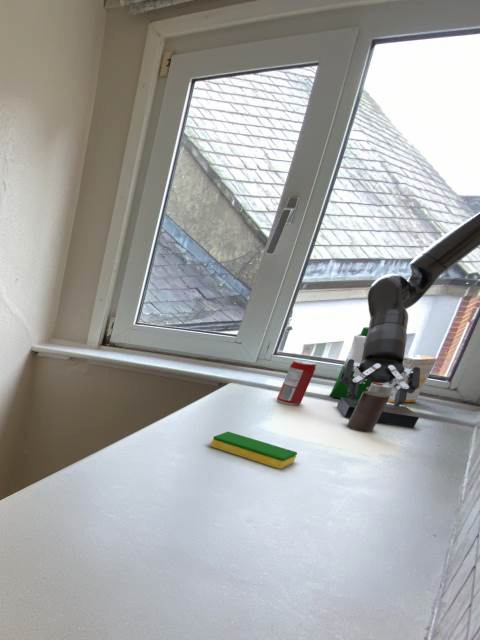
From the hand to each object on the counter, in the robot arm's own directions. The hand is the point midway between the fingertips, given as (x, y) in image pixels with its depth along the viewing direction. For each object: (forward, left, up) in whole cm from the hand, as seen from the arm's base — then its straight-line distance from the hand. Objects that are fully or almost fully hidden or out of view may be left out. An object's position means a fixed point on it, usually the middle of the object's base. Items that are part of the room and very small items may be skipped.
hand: (375, 401), depth 134 cm
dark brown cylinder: (0, -1, -7) cm, 8 cm away
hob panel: (-5, -15, -7) cm, 18 cm away
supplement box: (-16, -41, -8) cm, 45 cm away
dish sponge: (+26, +37, -8) cm, 46 cm away
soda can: (+13, -17, -8) cm, 23 cm away
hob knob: (-4, -16, -4) cm, 17 cm away
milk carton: (-4, -34, -8) cm, 35 cm away
